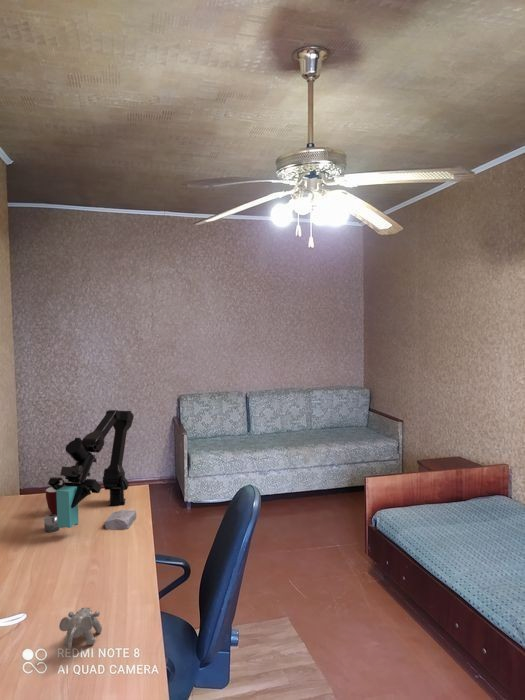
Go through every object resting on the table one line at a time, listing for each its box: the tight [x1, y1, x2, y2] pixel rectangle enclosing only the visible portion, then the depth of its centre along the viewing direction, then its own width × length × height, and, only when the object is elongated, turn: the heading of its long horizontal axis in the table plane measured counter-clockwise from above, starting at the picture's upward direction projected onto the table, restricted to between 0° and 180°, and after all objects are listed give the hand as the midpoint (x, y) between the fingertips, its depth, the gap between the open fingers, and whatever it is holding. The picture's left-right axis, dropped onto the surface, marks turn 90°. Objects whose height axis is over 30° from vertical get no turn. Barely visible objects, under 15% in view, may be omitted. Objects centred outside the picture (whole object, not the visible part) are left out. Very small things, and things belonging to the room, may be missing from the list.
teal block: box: [56, 486, 80, 529], centre depth 176 cm, size 5×5×13 cm
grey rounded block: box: [43, 513, 60, 534], centre depth 182 cm, size 5×5×5 cm
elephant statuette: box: [58, 606, 103, 650], centre depth 116 cm, size 9×12×8 cm
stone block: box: [104, 509, 137, 531], centre depth 187 cm, size 12×5×10 cm
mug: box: [45, 486, 57, 514], centre depth 199 cm, size 10×8×10 cm
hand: (65, 507), depth 174 cm, fingers closed on teal block, 5 cm apart
